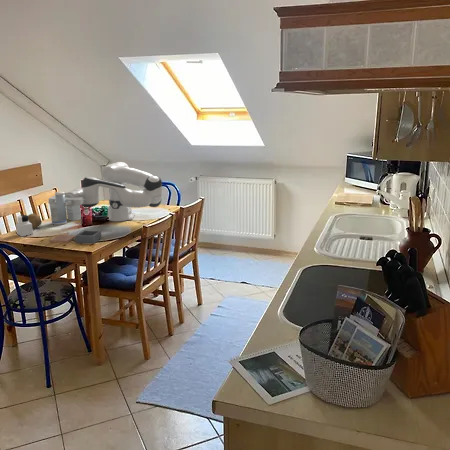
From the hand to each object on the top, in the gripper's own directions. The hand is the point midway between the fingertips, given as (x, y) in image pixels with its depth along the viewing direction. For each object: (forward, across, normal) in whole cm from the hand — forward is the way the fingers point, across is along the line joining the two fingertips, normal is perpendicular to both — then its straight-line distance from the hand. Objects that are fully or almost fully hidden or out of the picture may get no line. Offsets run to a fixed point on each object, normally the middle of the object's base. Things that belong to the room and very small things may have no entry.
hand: (60, 203), depth 253 cm
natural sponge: (-21, +32, -22) cm, 44 cm away
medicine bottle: (-8, +30, -22) cm, 38 cm away
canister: (-1, 0, -10) cm, 10 cm away
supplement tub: (-35, +22, -22) cm, 47 cm away
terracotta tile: (-1, +1, -22) cm, 22 cm away
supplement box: (-47, +16, -22) cm, 55 cm away
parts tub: (-1, -15, -22) cm, 27 cm away
